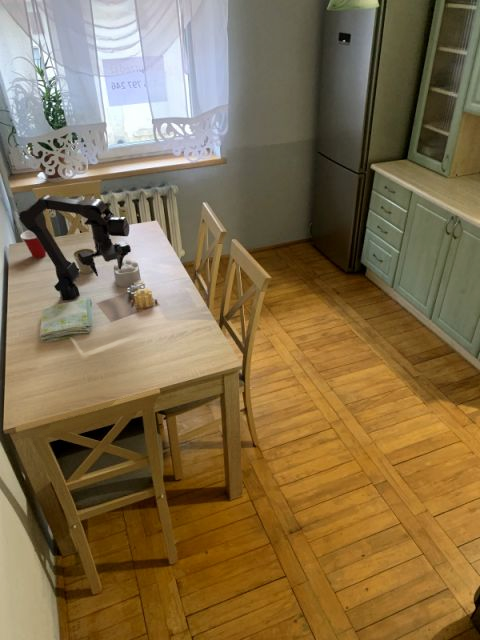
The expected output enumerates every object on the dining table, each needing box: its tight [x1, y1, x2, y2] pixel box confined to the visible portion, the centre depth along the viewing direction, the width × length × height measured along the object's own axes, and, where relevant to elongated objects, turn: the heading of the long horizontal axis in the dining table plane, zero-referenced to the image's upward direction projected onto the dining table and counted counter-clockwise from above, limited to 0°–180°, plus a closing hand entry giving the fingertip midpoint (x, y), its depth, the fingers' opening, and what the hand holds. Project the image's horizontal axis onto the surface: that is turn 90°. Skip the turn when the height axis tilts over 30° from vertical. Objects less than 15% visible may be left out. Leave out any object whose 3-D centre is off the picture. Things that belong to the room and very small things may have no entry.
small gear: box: [134, 280, 146, 288], centre depth 192 cm, size 4×4×3 cm
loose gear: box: [134, 287, 153, 308], centre depth 180 cm, size 7×7×6 cm
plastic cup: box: [20, 229, 47, 260], centre depth 218 cm, size 11×11×12 cm
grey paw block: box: [112, 259, 142, 288], centre depth 197 cm, size 10×13×9 cm
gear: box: [126, 285, 144, 299], centre depth 186 cm, size 7×7×4 cm
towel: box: [39, 298, 93, 343], centre depth 172 cm, size 18×21×5 cm
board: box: [95, 292, 160, 323], centre depth 182 cm, size 20×16×3 cm
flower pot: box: [71, 247, 96, 274], centre depth 206 cm, size 9×9×9 cm
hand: (108, 272), depth 179 cm, fingers open, 9 cm apart
